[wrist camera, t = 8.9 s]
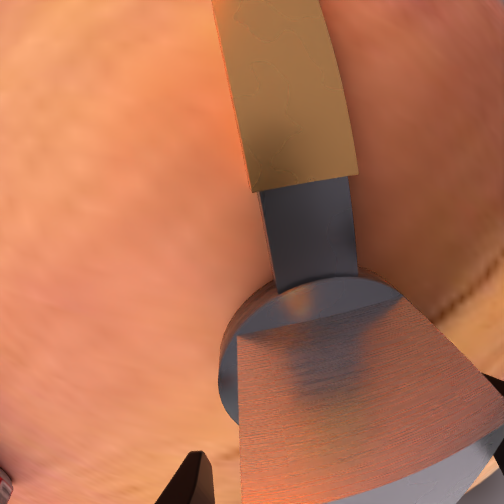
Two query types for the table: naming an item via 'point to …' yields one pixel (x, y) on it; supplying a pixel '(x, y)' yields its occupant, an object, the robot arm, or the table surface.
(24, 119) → the table surface
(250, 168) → the ratchet
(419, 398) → the white metal cube
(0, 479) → the soda can
